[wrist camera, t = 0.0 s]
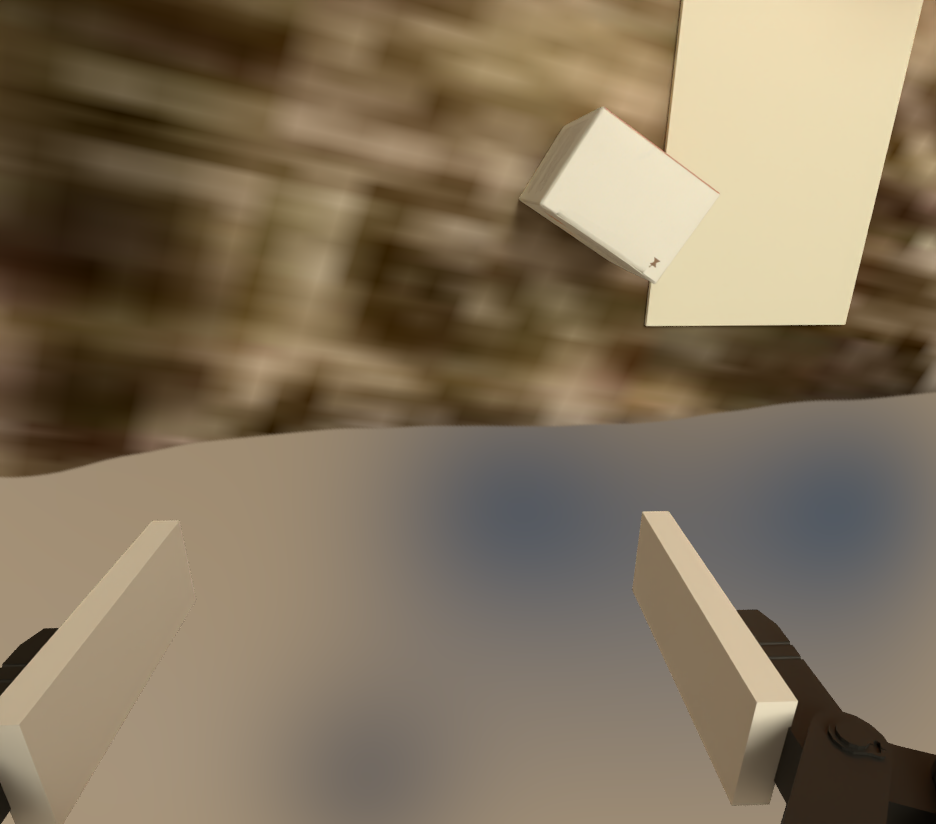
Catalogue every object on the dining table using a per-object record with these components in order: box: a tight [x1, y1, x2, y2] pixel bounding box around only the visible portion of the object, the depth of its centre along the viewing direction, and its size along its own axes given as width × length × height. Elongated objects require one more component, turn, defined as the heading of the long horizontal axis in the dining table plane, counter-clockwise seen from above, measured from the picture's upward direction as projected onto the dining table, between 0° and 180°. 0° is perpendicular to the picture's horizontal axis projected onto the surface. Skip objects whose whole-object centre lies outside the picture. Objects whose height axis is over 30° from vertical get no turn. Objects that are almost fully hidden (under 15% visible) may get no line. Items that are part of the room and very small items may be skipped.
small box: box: [519, 107, 720, 284], centre depth 35 cm, size 8×6×10 cm
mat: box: [645, 0, 923, 326], centre depth 39 cm, size 24×15×1 cm, turn 0°
